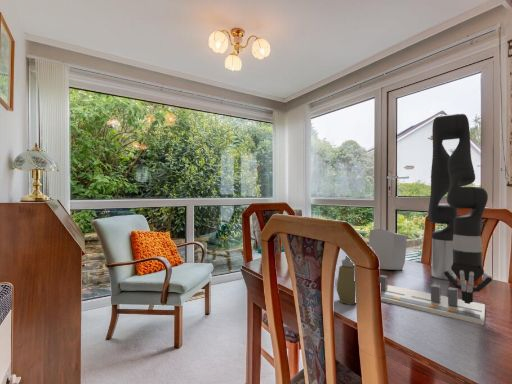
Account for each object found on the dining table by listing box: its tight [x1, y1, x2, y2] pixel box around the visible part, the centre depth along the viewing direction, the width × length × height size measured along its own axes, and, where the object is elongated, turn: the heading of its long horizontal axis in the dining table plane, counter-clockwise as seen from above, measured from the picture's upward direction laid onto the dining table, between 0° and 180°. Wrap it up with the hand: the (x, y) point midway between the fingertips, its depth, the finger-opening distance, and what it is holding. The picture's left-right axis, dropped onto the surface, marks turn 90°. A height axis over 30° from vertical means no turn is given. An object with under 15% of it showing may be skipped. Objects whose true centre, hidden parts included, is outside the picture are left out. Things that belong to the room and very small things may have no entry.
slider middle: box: [430, 283, 442, 303], centre depth 97 cm, size 3×2×5 cm
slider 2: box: [447, 286, 459, 306], centre depth 94 cm, size 3×2×5 cm
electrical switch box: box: [368, 228, 408, 271], centre depth 147 cm, size 15×15×20 cm
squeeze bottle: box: [336, 255, 355, 305], centre depth 100 cm, size 8×8×18 cm
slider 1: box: [379, 274, 389, 291], centre depth 108 cm, size 3×2×5 cm
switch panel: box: [381, 284, 486, 326], centre depth 99 cm, size 16×32×2 cm, turn 51°
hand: (467, 302), depth 92 cm, fingers closed
